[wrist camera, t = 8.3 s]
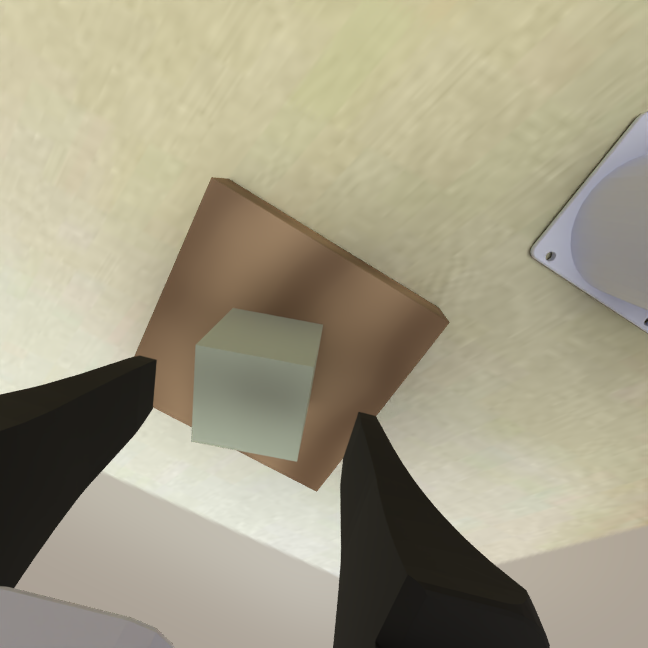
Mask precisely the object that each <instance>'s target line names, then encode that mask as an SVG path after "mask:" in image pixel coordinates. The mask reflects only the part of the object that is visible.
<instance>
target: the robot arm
mask: <svg viewBox="0 0 648 648" xmlns="http://www.w3.org/2000/svg"><path fill="white" fill-rule="evenodd" d="M548 252H552V257H551V258H550V259H549V260H546V254H547V253H548ZM530 253H531V256H532V257H533V258H534V259H535V260H537V261H538V262H540V263H541V264H543V265H544V266H546V267H548V268H549V269H551V270H552V271H554V272H555V273H557V274H558V275H560V276H561V277H563V278H564V279H566V280H567V281H569V282H570V283H572V284H573V285H575V286H576V287H578V288H579V289H581V290H583V291H584V292H586V293H587V294H589V295H590V296H592V297H593V298H595V299H596V300H598V301H599V302H601V303H602V304H604V305H605V306H607V307H608V308H610V309H611V310H613V311H614V312H616V313H617V314H619V315H621V316H622V317H624V318H625V319H627V320H628V321H630V322H631V323H633V324H634V325H636V326H637V327H639V328H640V329H642V330H643V331H645V332H646V333H648V322H647V323H645V324H644V321H645V320H646V319H647V318H648V112H644V113H642V114H640V115H639V116H638V117H637V118H636V119H635V120H634V121H633V123H632V124H631V125H630V126H629V128H628V129H627V130H626V131H625V133H624V134H623V135H622V136H621V138H620V139H619V140H618V141H617V142H616V144H615V145H614V146H613V147H612V149H611V150H610V151H609V152H608V154H607V155H606V156H605V157H604V159H603V160H602V161H601V162H600V163H599V165H598V166H597V167H596V168H595V170H594V171H593V172H592V173H591V175H590V176H589V177H588V178H587V180H586V181H585V182H584V183H583V184H582V186H581V187H580V188H579V189H578V191H577V192H576V193H575V194H574V196H573V197H572V198H571V199H570V201H569V202H568V203H567V204H566V205H565V207H564V208H563V209H562V210H561V212H560V213H559V214H558V215H557V217H556V218H555V219H554V220H553V221H552V223H551V224H550V225H549V226H548V228H547V229H546V230H545V231H544V233H543V234H542V235H541V236H540V238H539V239H538V240H537V241H536V242H535V244H534V245H533V246H532V248H531V252H530ZM156 364H157V360H156V359H152V358H148V357H144V356H140V355H139V356H135V357H131V358H128V359H125V360H122V361H119V362H116V363H113V364H110V365H107V366H103V367H100V368H97V369H94V370H91V371H88V372H85V373H82V374H79V375H75V376H72V377H69V378H65V379H62V380H58V381H55V382H51V383H48V384H44V385H40V386H37V387H32V388H28V389H24V390H19V391H15V392H10V393H5V394H0V648H174V646H173V643H172V642H170V641H169V640H168V639H167V638H166V637H165V636H164V635H163V634H162V633H161V632H160V631H159V630H158V629H156V628H155V627H152V626H150V625H148V624H145V623H143V622H141V621H138V620H136V619H133V618H131V617H127V616H123V615H119V614H115V613H111V612H107V611H103V610H99V609H95V608H91V607H87V606H82V605H79V604H75V603H71V602H66V601H63V600H59V599H55V598H51V597H46V596H43V595H38V594H34V593H30V592H26V591H22V590H18V589H14V587H15V586H16V584H17V583H18V581H19V580H20V578H21V577H22V575H23V574H24V572H25V571H26V570H27V568H28V567H29V565H30V564H31V562H32V561H33V559H34V558H35V556H36V555H37V553H38V552H39V551H40V549H41V548H42V547H43V545H44V544H45V542H46V541H47V539H48V538H49V537H50V535H51V534H52V532H53V531H54V530H55V528H56V527H57V526H58V524H59V523H60V521H61V520H62V519H63V517H64V516H65V515H66V513H67V512H68V511H69V509H70V508H71V507H72V505H73V504H74V503H75V501H76V500H77V499H78V498H79V496H80V495H81V494H82V493H83V492H84V490H85V489H86V488H87V487H88V486H89V484H90V483H91V482H92V481H93V480H94V479H95V478H96V477H97V476H98V475H99V473H100V472H101V471H102V470H103V469H104V468H105V467H106V466H107V465H108V464H109V463H110V461H111V460H112V459H113V458H114V457H115V456H116V455H117V454H118V453H119V452H120V450H121V449H122V448H123V447H124V446H125V445H126V444H127V443H128V442H129V440H130V439H131V438H132V437H133V436H134V435H135V434H136V432H137V431H138V430H139V428H140V427H141V425H142V424H143V423H144V421H145V420H146V418H147V417H148V415H149V414H150V412H151V411H152V409H153V400H154V388H155V376H156ZM340 498H341V566H340V578H339V591H338V602H337V603H338V604H337V613H336V624H335V634H334V645H333V648H549V646H550V645H549V642H548V639H547V636H546V634H545V631H544V629H543V626H542V624H541V622H540V619H539V617H538V614H537V612H536V610H535V607H534V605H533V603H532V601H531V599H530V597H529V595H528V593H527V591H526V590H525V589H524V588H523V587H522V586H520V585H519V584H518V583H516V582H515V581H514V580H513V579H511V578H510V577H509V576H508V575H507V574H505V573H504V572H503V571H502V570H500V569H499V568H498V567H496V566H495V565H494V564H493V563H492V562H490V561H489V560H488V559H487V558H486V557H485V556H484V555H483V554H481V553H480V552H479V551H478V550H477V549H476V548H475V547H474V546H473V545H472V544H470V543H469V542H468V541H467V540H466V539H465V538H464V537H463V536H462V535H461V534H460V533H459V532H458V531H457V530H456V529H455V528H454V527H453V526H452V525H451V524H450V523H449V522H448V520H447V519H446V518H445V517H444V516H443V515H442V514H441V513H440V512H439V511H438V510H437V508H436V507H435V506H434V505H433V504H432V503H431V501H430V500H429V499H428V498H427V496H426V495H425V494H424V493H423V491H422V490H421V489H420V488H419V486H418V485H417V484H416V482H415V481H414V479H413V478H412V477H411V475H410V474H409V472H408V471H407V469H406V468H405V466H404V465H403V463H402V462H401V460H400V458H399V457H398V455H397V453H396V452H395V450H394V448H393V447H392V445H391V443H390V441H389V439H388V438H387V436H386V434H385V432H384V430H383V428H382V427H381V425H380V423H379V421H378V419H377V417H376V416H374V415H370V414H366V413H362V412H358V415H357V418H356V421H355V424H354V427H353V430H352V433H351V436H350V439H349V442H348V445H347V448H346V451H345V454H344V457H343V465H342V474H341V484H340Z"/></svg>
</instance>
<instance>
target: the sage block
mask: <svg viewBox="0 0 648 648" xmlns="http://www.w3.org/2000/svg"><path fill="white" fill-rule="evenodd" d="M322 329H323V325H322V324H317V323H311V322H306V321H301V320H295V319H290V318H285V317H279V316H274V315H269V314H263V313H258V312H252V311H247V310H242V309H236V308H232V309H231V310H230V311H229V312H228V313H227V314H226V315H225V316H224V317H223V318H222V319H221V320H220V321H219V322H218V323H217V324H216V325H215V326H214V327H213V328H212V329H211V330H210V331H209V332H208V333H207V334H206V335H205V336H204V337H203V338H202V339H201V340H200V341H199V342H198V343H197V344H196V346H195V369H194V391H193V414H192V436H191V442H196V443H201V444H207V445H212V446H217V447H222V448H228V449H233V450H238V451H243V452H249V453H254V454H259V455H264V456H270V457H275V458H280V459H285V460H291V461H296V462H297V459H298V454H299V449H300V445H301V440H302V435H303V430H304V425H305V420H306V415H307V411H308V406H309V401H310V395H311V390H312V384H313V379H314V373H315V368H316V362H317V357H318V351H319V346H320V340H321V334H322Z"/></svg>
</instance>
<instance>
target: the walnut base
mask: <svg viewBox="0 0 648 648" xmlns="http://www.w3.org/2000/svg"><path fill="white" fill-rule="evenodd" d="M232 308H236V309H242V310H247V311H252V312H258V313H263V314H269V315H274V316H279V317H285V318H290V319H295V320H301V321H306V322H311V323H317V324H322V325H323V329H322V334H321V340H320V346H319V351H318V357H317V362H316V368H315V373H314V379H313V384H312V390H311V395H310V401H309V406H308V411H307V415H306V420H305V425H304V430H303V435H302V440H301V445H300V449H299V454H298V459H297V462H296V461H291V460H285V459H280V458H275V457H270V456H264V455H259V454H254V453H249V452H243V451H239V452H241V453H243V454H245V455H247V456H249V457H251V458H252V459H254V460H256V461H258V462H260V463H262V464H264V465H266V466H268V467H270V468H272V469H274V470H276V471H278V472H280V473H282V474H283V475H285V476H287V477H289V478H291V479H293V480H295V481H297V482H299V483H301V484H303V485H305V486H307V487H309V488H311V489H313V490H314V491H316V492H317V491H318V489H319V488H320V487H321V485H322V484H323V483H324V482H325V480H326V479H327V478H328V477H329V475H330V474H331V473H332V471H333V470H334V469H335V468H336V466H337V465H338V464H339V463H340V461H341V460H342V459H343V457H344V454H345V451H346V448H347V445H348V442H349V439H350V436H351V433H352V430H353V427H354V424H355V421H356V418H357V415H358V412H362V413H366V414H370V415H374V416H376V415H377V414H378V413H379V412H380V410H381V409H382V408H383V407H384V405H385V404H386V403H387V401H388V400H389V399H390V398H391V396H392V395H393V394H394V393H395V391H396V390H397V389H398V387H399V386H400V385H401V384H402V382H403V381H404V380H405V379H406V377H407V376H408V375H409V373H410V372H411V371H412V370H413V368H414V367H415V366H416V364H417V363H418V362H419V361H420V359H421V358H422V357H423V356H424V354H425V353H426V352H427V350H428V349H429V348H430V347H431V345H432V344H433V343H434V342H435V340H436V339H437V338H438V336H439V335H440V334H441V333H442V331H443V330H444V329H445V328H446V326H447V325H448V324H449V321H448V320H447V318H446V317H445V316H444V314H443V313H442V311H441V310H440V309H439V308H438V307H437V306H435V305H433V304H432V303H430V302H428V301H427V300H425V299H424V298H422V297H420V296H419V295H417V294H415V293H414V292H412V291H411V290H409V289H407V288H406V287H404V286H402V285H401V284H399V283H397V282H396V281H394V280H393V279H391V278H389V277H388V276H386V275H384V274H383V273H381V272H380V271H378V270H376V269H375V268H373V267H371V266H370V265H368V264H367V263H365V262H363V261H362V260H360V259H358V258H357V257H355V256H353V255H352V254H350V253H349V252H347V251H345V250H344V249H342V248H340V247H339V246H337V245H336V244H334V243H332V242H331V241H329V240H327V239H326V238H324V237H322V236H321V235H319V234H318V233H316V232H314V231H313V230H311V229H309V228H308V227H306V226H305V225H303V224H301V223H300V222H298V221H296V220H295V219H293V218H292V217H290V216H288V215H287V214H285V213H283V212H282V211H280V210H278V209H277V208H275V207H274V206H272V205H270V204H269V203H267V202H265V201H264V200H262V199H261V198H259V197H257V196H256V195H254V194H252V193H251V192H249V191H247V190H246V189H244V188H243V187H241V186H239V185H238V184H236V183H234V182H233V181H231V180H230V179H225V178H213V177H212V178H211V180H210V182H209V185H208V187H207V189H206V192H205V194H204V196H203V199H202V201H201V203H200V205H199V208H198V210H197V212H196V215H195V217H194V219H193V222H192V224H191V226H190V229H189V231H188V233H187V236H186V238H185V240H184V243H183V245H182V247H181V249H180V252H179V254H178V256H177V259H176V261H175V263H174V266H173V268H172V270H171V273H170V275H169V277H168V280H167V282H166V284H165V287H164V289H163V291H162V294H161V296H160V298H159V300H158V303H157V305H156V307H155V310H154V312H153V314H152V317H151V319H150V321H149V324H148V326H147V328H146V331H145V333H144V335H143V338H142V340H141V342H140V345H139V347H138V349H137V351H136V354H135V356H139V355H140V356H144V357H148V358H152V359H156V360H157V364H156V376H155V388H154V400H153V407H154V408H156V409H158V410H159V411H161V412H163V413H165V414H167V415H169V416H171V417H173V418H175V419H177V420H179V421H181V422H183V423H185V424H187V425H189V426H190V427H192V414H193V391H194V369H195V346H196V344H197V343H198V342H199V341H200V340H201V339H202V338H203V337H204V336H205V335H206V334H207V333H208V332H209V331H210V330H211V329H212V328H213V327H214V326H215V325H216V324H217V323H218V322H219V321H220V320H221V319H222V318H223V317H224V316H225V315H226V314H227V313H228V312H229V311H230V310H231V309H232ZM135 356H134V357H135ZM237 451H238V450H237Z"/></svg>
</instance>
